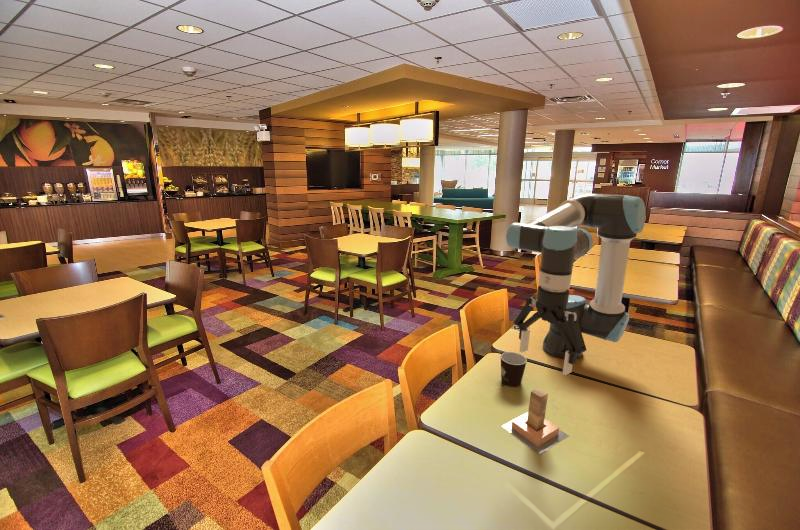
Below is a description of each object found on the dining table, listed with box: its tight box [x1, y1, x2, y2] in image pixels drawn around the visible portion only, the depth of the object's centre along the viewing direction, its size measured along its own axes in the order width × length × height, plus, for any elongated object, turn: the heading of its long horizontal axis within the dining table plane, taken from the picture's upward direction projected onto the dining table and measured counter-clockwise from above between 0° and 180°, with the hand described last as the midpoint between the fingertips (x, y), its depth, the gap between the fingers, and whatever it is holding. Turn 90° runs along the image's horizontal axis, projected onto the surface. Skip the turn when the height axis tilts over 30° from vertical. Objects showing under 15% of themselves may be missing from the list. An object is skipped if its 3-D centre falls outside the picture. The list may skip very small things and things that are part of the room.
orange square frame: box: [511, 412, 560, 447], centre depth 106 cm, size 9×9×2 cm
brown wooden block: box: [527, 387, 549, 432], centre depth 105 cm, size 3×3×12 cm
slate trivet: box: [501, 411, 570, 456], centre depth 107 cm, size 13×13×1 cm
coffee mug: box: [500, 351, 528, 388], centre depth 131 cm, size 12×9×10 cm
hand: (544, 361), depth 101 cm, fingers open, 13 cm apart
